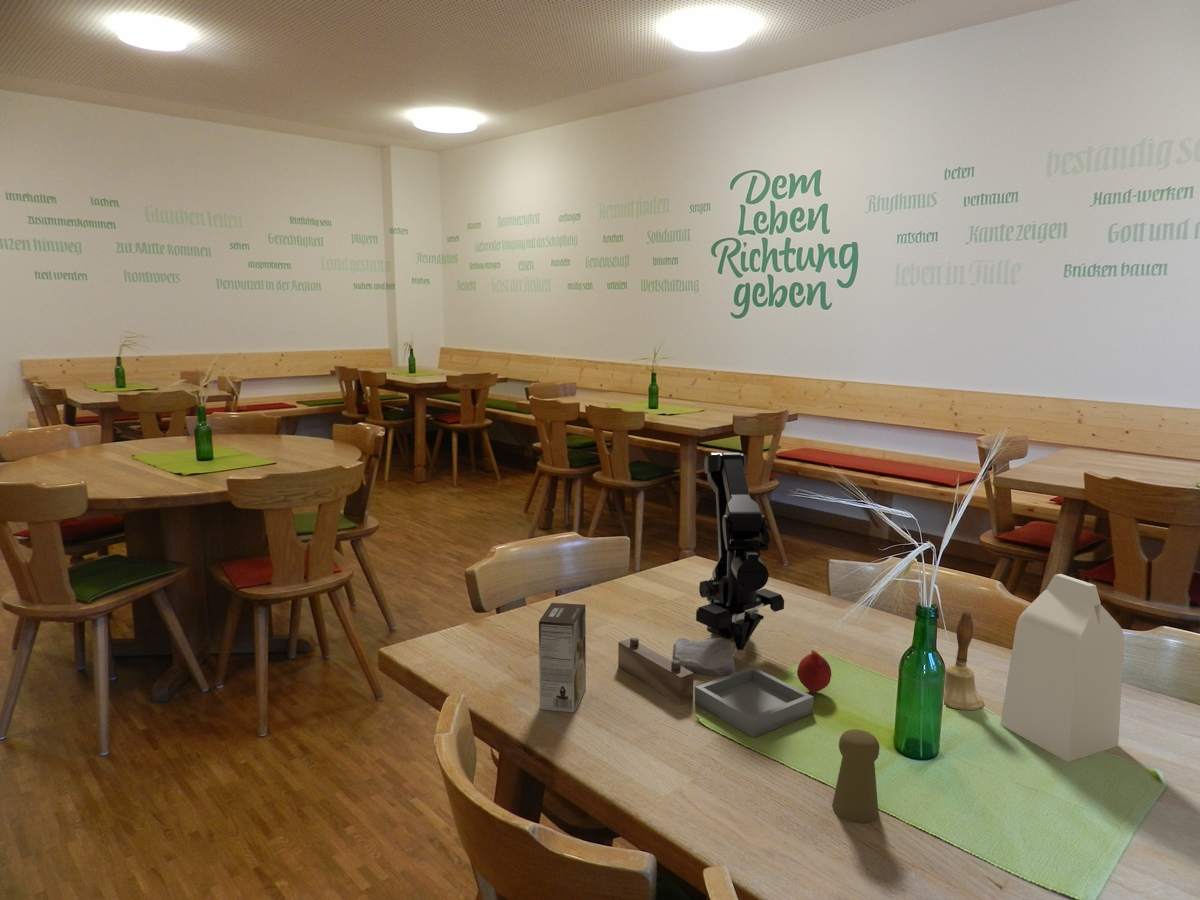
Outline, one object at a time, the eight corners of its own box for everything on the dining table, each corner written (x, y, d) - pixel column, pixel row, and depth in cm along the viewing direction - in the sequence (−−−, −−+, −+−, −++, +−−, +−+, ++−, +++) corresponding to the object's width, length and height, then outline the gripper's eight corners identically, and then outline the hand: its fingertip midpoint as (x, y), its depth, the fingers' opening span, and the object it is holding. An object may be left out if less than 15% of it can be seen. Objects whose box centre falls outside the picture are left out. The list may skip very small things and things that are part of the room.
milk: (1000, 724, 132) (1014, 572, 127) (1049, 711, 136) (1064, 564, 132) (1067, 761, 121) (1086, 597, 116) (1118, 745, 125) (1138, 587, 121)
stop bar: (630, 662, 154) (631, 632, 153) (693, 699, 140) (693, 666, 139) (618, 666, 153) (618, 635, 151) (679, 704, 138) (680, 670, 137)
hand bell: (959, 685, 146) (967, 601, 143) (994, 706, 138) (1003, 618, 135) (921, 691, 143) (928, 606, 140) (955, 713, 135) (963, 624, 133)
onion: (831, 687, 144) (833, 645, 143) (829, 702, 139) (831, 659, 138) (798, 682, 146) (800, 641, 145) (794, 697, 141) (796, 654, 139)
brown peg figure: (825, 797, 112) (829, 724, 110) (867, 795, 112) (872, 722, 111) (841, 824, 106) (846, 747, 104) (886, 821, 106) (891, 745, 105)
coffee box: (551, 685, 145) (551, 601, 142) (586, 688, 144) (586, 603, 141) (538, 710, 136) (537, 620, 133) (575, 713, 135) (575, 623, 132)
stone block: (737, 686, 149) (733, 653, 159) (737, 664, 148) (733, 633, 157) (673, 685, 150) (672, 653, 160) (672, 664, 149) (672, 633, 158)
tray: (752, 681, 146) (753, 666, 146) (812, 713, 135) (813, 696, 135) (694, 702, 139) (695, 686, 138) (753, 737, 127) (754, 720, 127)
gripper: (746, 554, 166) (743, 626, 168) (677, 571, 155) (676, 647, 158) (787, 568, 157) (784, 643, 159) (717, 587, 146) (715, 667, 149)
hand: (739, 649), depth 156 cm, fingers closed
